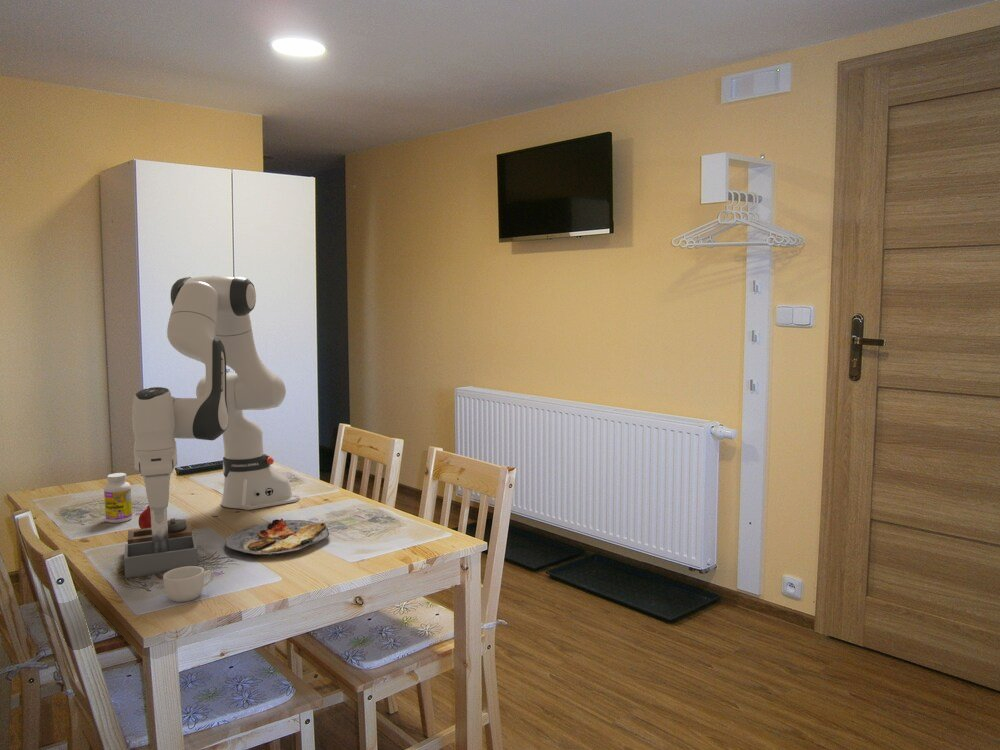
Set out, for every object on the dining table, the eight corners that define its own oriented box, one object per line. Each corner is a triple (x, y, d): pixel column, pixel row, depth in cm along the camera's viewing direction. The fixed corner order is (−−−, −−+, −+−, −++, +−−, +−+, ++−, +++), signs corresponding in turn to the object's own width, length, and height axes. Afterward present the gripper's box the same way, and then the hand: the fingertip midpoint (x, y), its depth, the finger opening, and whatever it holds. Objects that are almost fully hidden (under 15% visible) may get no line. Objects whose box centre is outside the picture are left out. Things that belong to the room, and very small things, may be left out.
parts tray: (195, 553, 182) (194, 535, 182) (198, 567, 173) (197, 548, 172) (126, 563, 176) (125, 544, 175) (125, 578, 166) (124, 558, 166)
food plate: (279, 522, 206) (279, 509, 206) (347, 535, 196) (346, 522, 195) (206, 552, 184) (205, 538, 184) (277, 569, 174) (277, 554, 173)
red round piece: (139, 532, 198) (137, 503, 197) (163, 529, 200) (162, 500, 200) (138, 539, 193) (136, 508, 192) (163, 536, 195) (161, 506, 194)
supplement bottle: (101, 523, 206) (97, 477, 205) (113, 516, 213) (110, 471, 211) (125, 523, 206) (122, 477, 205) (137, 516, 213) (134, 471, 211)
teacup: (172, 609, 150) (170, 582, 150) (159, 597, 156) (157, 572, 155) (221, 595, 157) (220, 570, 156) (207, 584, 163) (206, 560, 162)
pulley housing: (191, 541, 191) (189, 512, 190) (192, 551, 183) (191, 521, 183) (129, 550, 185) (127, 520, 184) (128, 560, 177) (126, 529, 177)
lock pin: (168, 549, 176) (166, 499, 175) (169, 554, 173) (166, 503, 172) (152, 551, 175) (149, 501, 174) (153, 556, 172) (150, 505, 170)
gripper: (140, 452, 180) (144, 508, 181) (140, 470, 161) (144, 533, 163) (169, 449, 182) (172, 505, 184) (172, 467, 164) (175, 529, 165)
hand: (159, 518), depth 173 cm, fingers closed on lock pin, 3 cm apart
